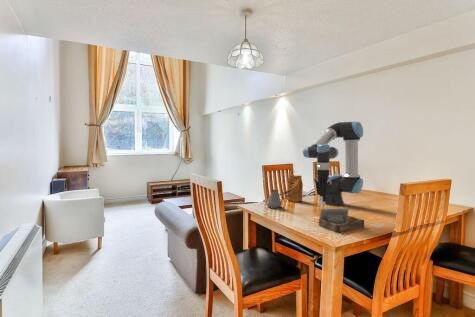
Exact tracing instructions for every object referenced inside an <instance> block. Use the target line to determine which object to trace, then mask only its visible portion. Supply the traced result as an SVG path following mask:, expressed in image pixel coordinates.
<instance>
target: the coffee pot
mask: <svg viewBox="0 0 475 317" xmlns="http://www.w3.org/2000/svg"><path fill="white" fill-rule="evenodd" d="M269 191H270V194H269V196H268V199H267V201H266V206H268V207H269V208H270V207H272V208H271V209H279V208H280V207H282V205H283V203H282V200H281V198H280V196H281V195H284V194H287V193H288V192H290V191H292V190H290V191H287V190H285V191H283V192H281V193H279V192H280V190H278V189H270V190H269ZM292 193H293V191H292ZM278 207H279V208H278Z"/></svg>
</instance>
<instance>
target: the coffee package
mask: <svg viewBox="0 0 475 317" xmlns="http://www.w3.org/2000/svg"><path fill="white" fill-rule="evenodd" d="M303 183H304V182H303V179H302V175H293V174H289V177H288V183H287V190H286V191H290V190H292V191H293V193H292V191H290V192H288V193H286V195H287V196H286V198H287V199H286V200H288V201H287V202H292V203H299V202H302V201H303V192H304V191H303V188H304V186H303Z"/></svg>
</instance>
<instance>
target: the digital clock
mask: <svg viewBox="0 0 475 317" xmlns="http://www.w3.org/2000/svg"><path fill="white" fill-rule="evenodd" d="M347 216H349V209H348V208H329V207H328V208H327V207H326V208H325V207H324V208H321V209H320V213H319V219H323V220H325V221H328V222H331V223H334V224H337V225H338V224H343V223H347V222H346V221H347Z"/></svg>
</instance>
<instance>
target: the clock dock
mask: <svg viewBox="0 0 475 317" xmlns="http://www.w3.org/2000/svg"><path fill="white" fill-rule="evenodd" d="M318 227H321V228H323V229H326V230H328V231H331V232H333V233H336V234H339V233H343V232H349V231H353V230H357V229H362V228H364V227H365V220H364V219H362V218H359V217H356V216H355V217H354V216H351V215H348V216H347V221H346V223H343V224H338V225H337V224H334V223H331V222H328V221H325V220H323V219H320V218H319V219H318Z"/></svg>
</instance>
